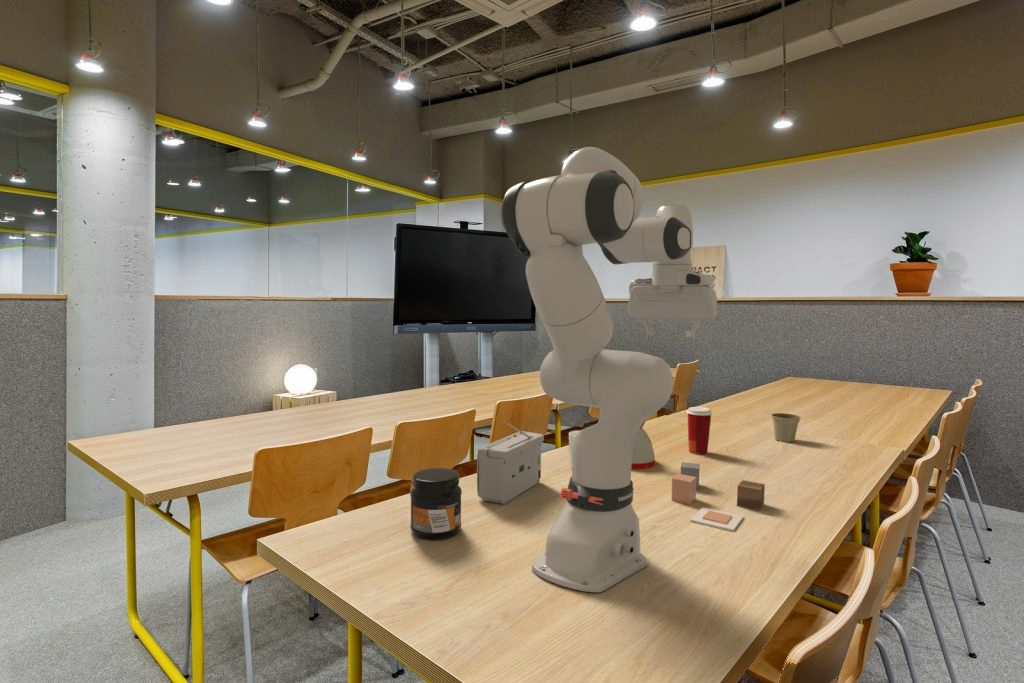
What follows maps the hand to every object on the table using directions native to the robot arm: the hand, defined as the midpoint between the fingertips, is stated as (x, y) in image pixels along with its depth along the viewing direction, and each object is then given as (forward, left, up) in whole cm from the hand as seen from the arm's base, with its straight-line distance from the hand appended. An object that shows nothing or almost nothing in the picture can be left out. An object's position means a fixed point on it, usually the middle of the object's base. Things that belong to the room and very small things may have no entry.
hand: (670, 337), depth 130 cm
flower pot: (+84, -13, -40) cm, 94 cm away
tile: (-3, -13, -40) cm, 42 cm away
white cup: (+13, +29, -40) cm, 51 cm away
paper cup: (+50, +7, -40) cm, 64 cm away
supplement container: (-44, +33, -40) cm, 68 cm away
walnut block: (+11, -17, -40) cm, 45 cm away
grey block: (+16, -1, -40) cm, 43 cm away
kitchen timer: (+27, +20, -40) cm, 52 cm away
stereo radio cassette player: (-15, +34, -40) cm, 55 cm away
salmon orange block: (+5, -3, -40) cm, 40 cm away
